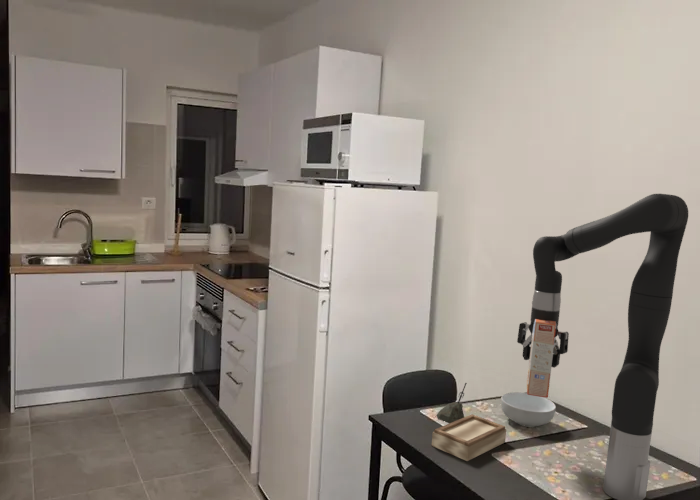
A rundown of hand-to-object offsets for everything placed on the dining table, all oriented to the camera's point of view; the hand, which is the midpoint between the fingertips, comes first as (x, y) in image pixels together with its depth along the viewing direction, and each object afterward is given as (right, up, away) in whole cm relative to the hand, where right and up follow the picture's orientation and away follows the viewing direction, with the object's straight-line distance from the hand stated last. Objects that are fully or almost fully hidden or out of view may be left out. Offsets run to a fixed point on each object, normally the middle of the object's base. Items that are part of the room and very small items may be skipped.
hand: (539, 363), depth 174 cm
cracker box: (-1, -8, +1) cm, 8 cm away
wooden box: (-20, -24, +3) cm, 31 cm away
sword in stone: (-21, -22, +22) cm, 38 cm away
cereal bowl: (+3, -24, +23) cm, 33 cm away
